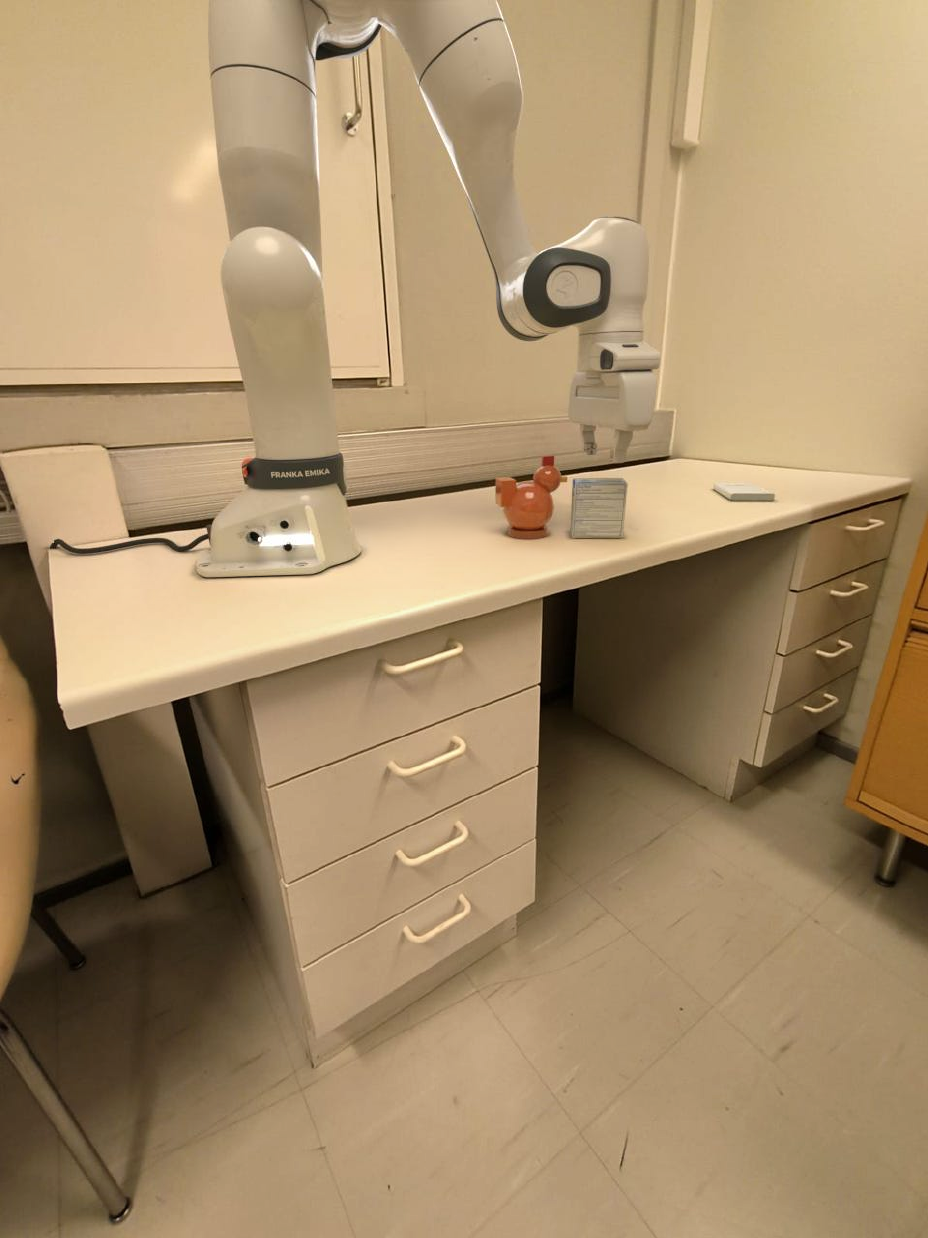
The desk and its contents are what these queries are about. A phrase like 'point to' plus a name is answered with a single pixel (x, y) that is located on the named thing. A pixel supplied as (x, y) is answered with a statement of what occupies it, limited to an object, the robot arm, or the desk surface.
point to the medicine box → (598, 507)
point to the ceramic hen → (529, 500)
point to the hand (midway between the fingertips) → (602, 458)
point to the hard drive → (743, 492)
